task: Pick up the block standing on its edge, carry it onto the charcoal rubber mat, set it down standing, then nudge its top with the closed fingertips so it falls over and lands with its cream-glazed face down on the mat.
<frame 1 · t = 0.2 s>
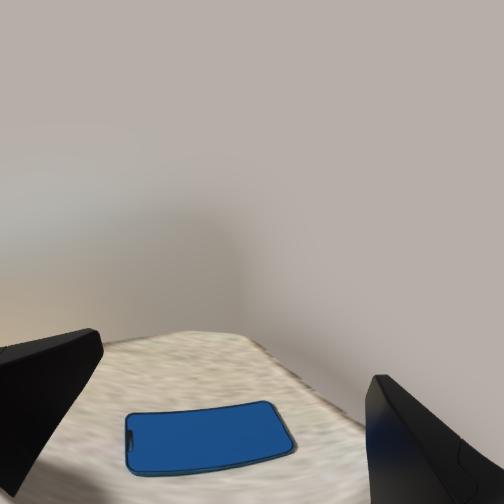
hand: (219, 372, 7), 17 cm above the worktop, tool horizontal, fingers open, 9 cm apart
smartphone: (206, 442, 20), on the worktop
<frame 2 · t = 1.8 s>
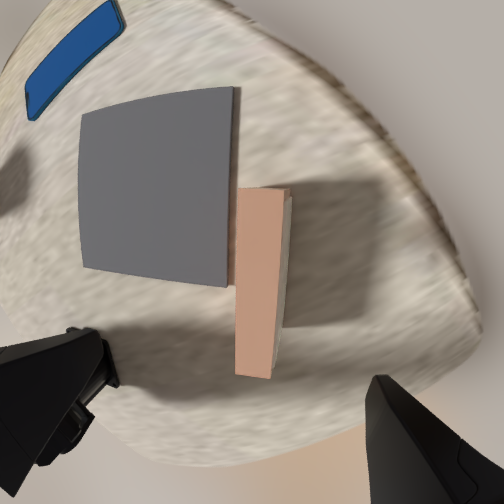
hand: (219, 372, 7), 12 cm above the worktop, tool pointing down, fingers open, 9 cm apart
mat: (141, 186, 19), on the worktop
block: (271, 262, 19), on the worktop
smartphone: (70, 60, 18), on the worktop
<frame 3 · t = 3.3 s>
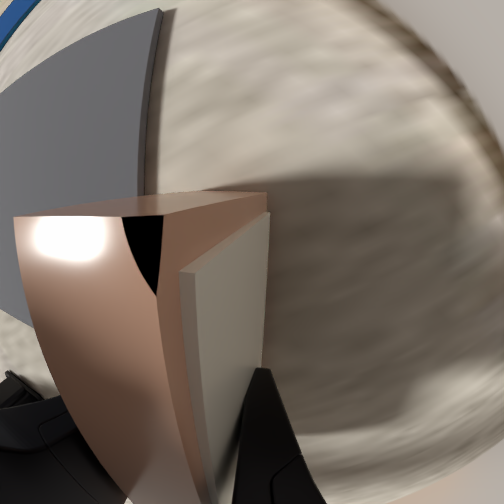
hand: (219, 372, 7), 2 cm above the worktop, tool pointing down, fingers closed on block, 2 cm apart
mat: (31, 199, 9), on the worktop
block: (230, 343, 9), on the worktop, touching gripper
smartphone: (0, 40, 8), on the worktop
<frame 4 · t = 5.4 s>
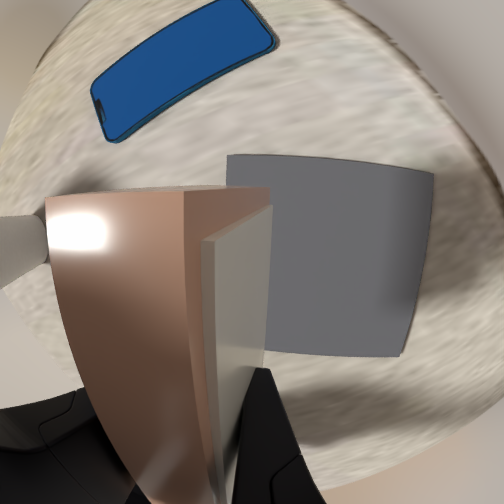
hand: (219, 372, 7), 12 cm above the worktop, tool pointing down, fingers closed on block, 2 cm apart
mat: (328, 265, 18), on the worktop
block: (234, 332, 9), point 10 cm above the worktop, touching gripper
dixie cup: (36, 239, 23), on the worktop
smartphone: (174, 64, 17), on the worktop
when the fingers open (3 cm above the worktop, at t = 7.2 s): block stays where it is, resting on mat.
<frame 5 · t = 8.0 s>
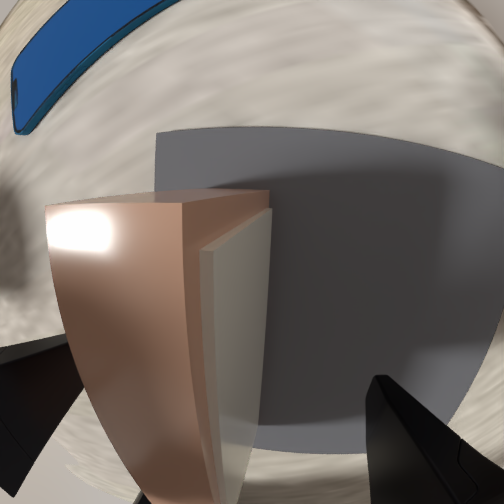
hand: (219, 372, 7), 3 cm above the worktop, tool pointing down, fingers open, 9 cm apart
mat: (347, 340, 9), on the worktop
block: (233, 334, 9), resting on mat
smartphone: (105, 14, 8), on the worktop
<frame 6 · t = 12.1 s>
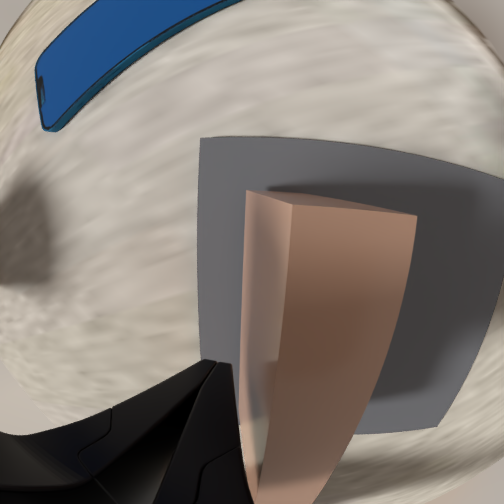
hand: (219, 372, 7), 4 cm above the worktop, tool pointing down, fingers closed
mat: (364, 324, 10), on the worktop
block: (266, 323, 10), point 1 cm above the worktop, tilted 17°, touching mat
smartphone: (136, 18, 9), on the worktop
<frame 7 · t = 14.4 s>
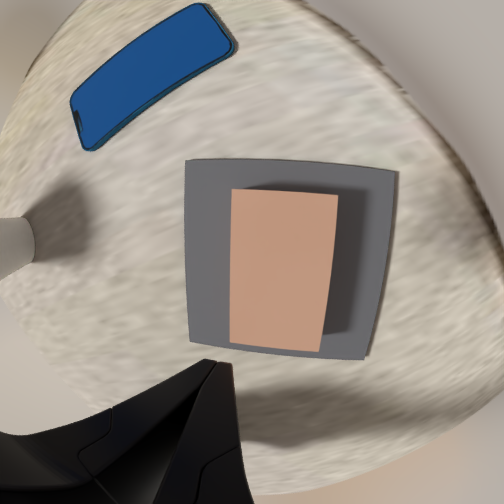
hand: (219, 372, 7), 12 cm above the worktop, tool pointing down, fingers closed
mat: (283, 266, 18), on the worktop
block: (234, 268, 17), point 2 cm above the worktop, tilted 90°, touching mat
dixie cup: (25, 240, 24), on the worktop
smartphone: (143, 74, 17), on the worktop
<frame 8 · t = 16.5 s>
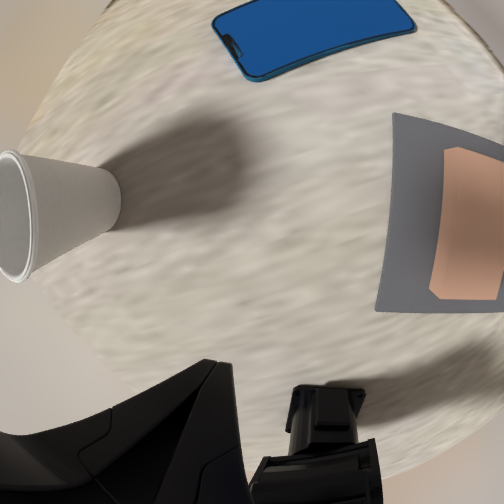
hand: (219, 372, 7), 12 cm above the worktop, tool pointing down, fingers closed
mat: (467, 225, 15), on the worktop
block: (446, 222, 14), point 2 cm above the worktop, tilted 90°, touching mat
dixie cup: (99, 200, 21), on the worktop
smartphone: (317, 19, 14), on the worktop
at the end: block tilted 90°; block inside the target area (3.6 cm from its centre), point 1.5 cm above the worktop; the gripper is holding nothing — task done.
